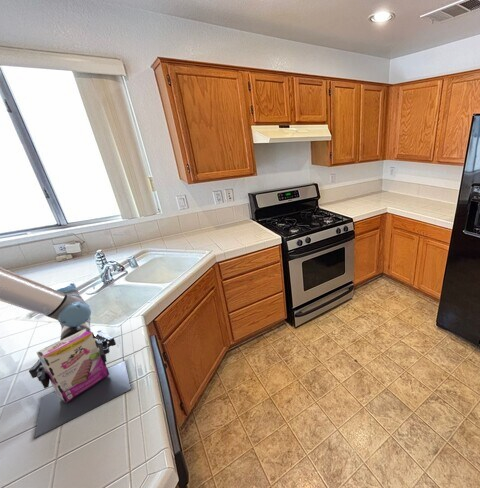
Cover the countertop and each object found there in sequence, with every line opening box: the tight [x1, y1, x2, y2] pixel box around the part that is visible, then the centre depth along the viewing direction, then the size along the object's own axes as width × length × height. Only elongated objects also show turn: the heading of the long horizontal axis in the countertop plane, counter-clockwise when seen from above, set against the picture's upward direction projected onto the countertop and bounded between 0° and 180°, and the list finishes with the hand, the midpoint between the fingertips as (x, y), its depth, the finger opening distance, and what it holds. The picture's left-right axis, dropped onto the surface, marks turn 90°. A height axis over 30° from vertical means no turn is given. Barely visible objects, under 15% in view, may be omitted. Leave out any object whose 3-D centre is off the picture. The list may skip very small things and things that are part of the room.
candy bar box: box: [36, 329, 110, 403], centre depth 76 cm, size 11×5×16 cm, turn 154°
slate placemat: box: [34, 360, 132, 439], centre depth 77 cm, size 20×16×1 cm
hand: (75, 370), depth 74 cm, fingers closed on candy bar box, 12 cm apart
